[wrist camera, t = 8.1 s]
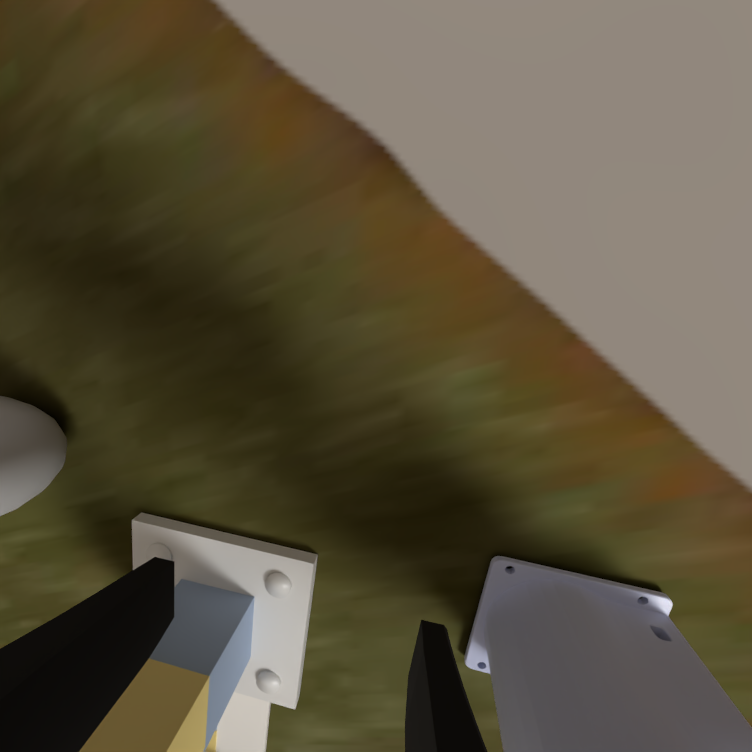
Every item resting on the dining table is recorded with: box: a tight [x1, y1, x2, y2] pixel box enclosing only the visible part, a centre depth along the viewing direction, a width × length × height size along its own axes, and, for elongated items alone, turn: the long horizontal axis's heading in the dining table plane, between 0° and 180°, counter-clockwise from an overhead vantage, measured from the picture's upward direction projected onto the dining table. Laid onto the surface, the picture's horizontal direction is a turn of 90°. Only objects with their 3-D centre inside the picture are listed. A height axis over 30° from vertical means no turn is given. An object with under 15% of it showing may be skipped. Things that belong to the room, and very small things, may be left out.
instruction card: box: [203, 692, 271, 752], centre depth 26 cm, size 10×8×1 cm
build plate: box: [132, 512, 318, 709], centre depth 23 cm, size 12×12×1 cm
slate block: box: [149, 579, 255, 751], centre depth 21 cm, size 5×5×5 cm
